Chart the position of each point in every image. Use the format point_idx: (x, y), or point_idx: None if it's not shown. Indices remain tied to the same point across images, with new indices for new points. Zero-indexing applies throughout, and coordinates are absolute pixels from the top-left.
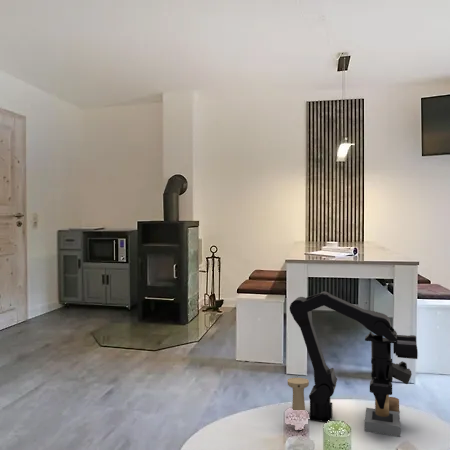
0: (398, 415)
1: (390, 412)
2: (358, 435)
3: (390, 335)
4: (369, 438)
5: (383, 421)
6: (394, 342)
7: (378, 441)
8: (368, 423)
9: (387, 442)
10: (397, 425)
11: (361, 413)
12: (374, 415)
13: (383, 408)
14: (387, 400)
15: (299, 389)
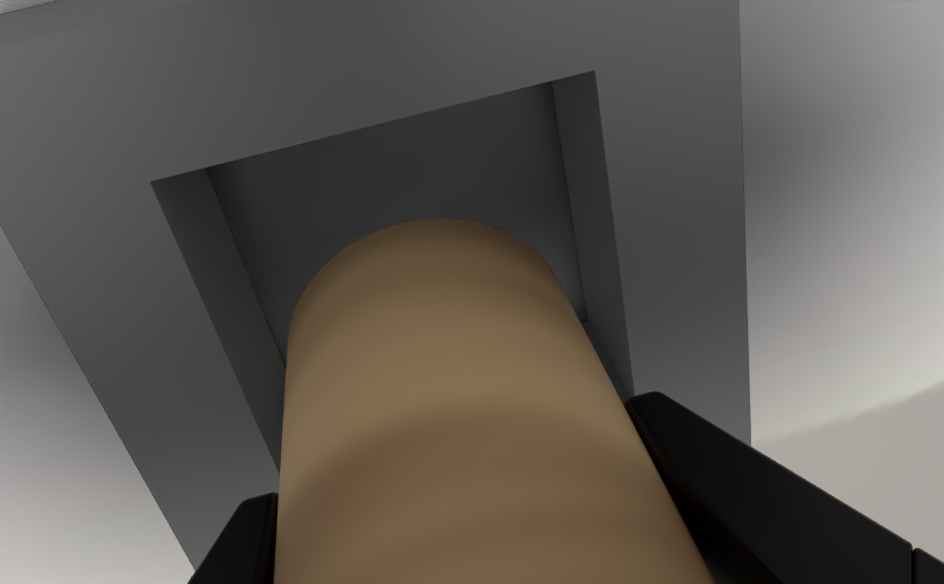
0: (142, 44)
1: (114, 241)
2: (822, 391)
3: None
4: (860, 265)
5: (632, 238)
6: None
7: (912, 142)
8: (740, 405)
9: (909, 17)
10: None
11: (170, 569)
12: (282, 429)
13: (667, 396)
14: (604, 482)
15: None
